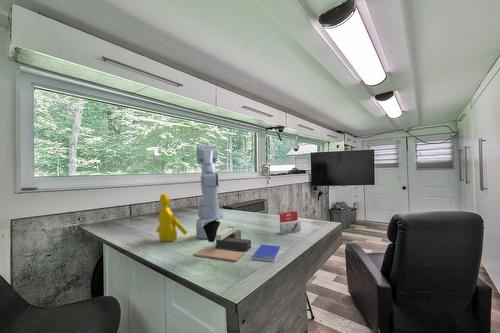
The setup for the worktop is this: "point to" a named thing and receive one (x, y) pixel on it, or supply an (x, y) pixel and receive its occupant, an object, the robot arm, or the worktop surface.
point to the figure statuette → (167, 221)
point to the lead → (234, 244)
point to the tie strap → (226, 232)
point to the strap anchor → (235, 234)
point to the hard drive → (266, 253)
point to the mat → (219, 254)
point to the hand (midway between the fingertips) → (211, 241)
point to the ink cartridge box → (289, 222)
